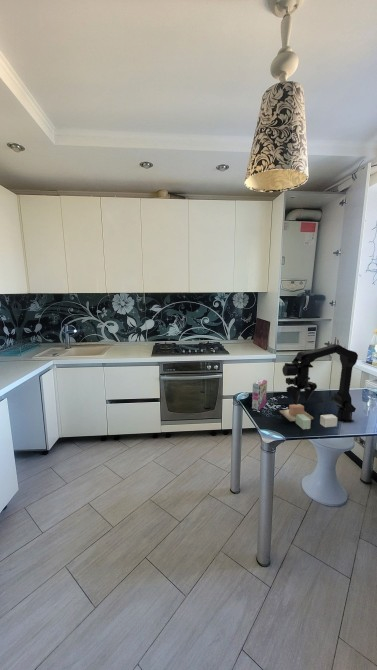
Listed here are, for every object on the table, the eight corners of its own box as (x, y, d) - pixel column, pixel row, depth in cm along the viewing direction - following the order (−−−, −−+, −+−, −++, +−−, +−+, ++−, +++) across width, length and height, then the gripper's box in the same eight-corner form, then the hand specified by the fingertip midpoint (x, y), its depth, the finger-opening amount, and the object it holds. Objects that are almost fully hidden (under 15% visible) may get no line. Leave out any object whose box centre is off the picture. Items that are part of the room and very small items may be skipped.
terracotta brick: (299, 412, 152) (300, 403, 152) (303, 415, 149) (304, 406, 148) (288, 412, 151) (289, 404, 151) (292, 416, 148) (292, 407, 147)
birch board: (301, 410, 157) (301, 408, 157) (313, 419, 145) (313, 417, 145) (279, 411, 155) (279, 410, 155) (290, 421, 143) (290, 419, 143)
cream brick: (331, 422, 142) (332, 414, 141) (336, 426, 138) (337, 417, 137) (320, 423, 141) (320, 415, 140) (324, 427, 137) (325, 418, 136)
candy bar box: (259, 411, 157) (260, 385, 154) (251, 408, 160) (252, 383, 157) (266, 404, 165) (267, 380, 163) (259, 402, 168) (260, 378, 166)
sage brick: (295, 423, 142) (296, 414, 141) (302, 422, 142) (302, 413, 142) (303, 429, 135) (303, 420, 134) (310, 428, 135) (310, 419, 135)
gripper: (300, 369, 151) (298, 394, 153) (278, 374, 141) (277, 401, 143) (318, 373, 141) (316, 400, 143) (296, 379, 131) (295, 408, 134)
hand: (300, 402), depth 141 cm, fingers open, 9 cm apart
